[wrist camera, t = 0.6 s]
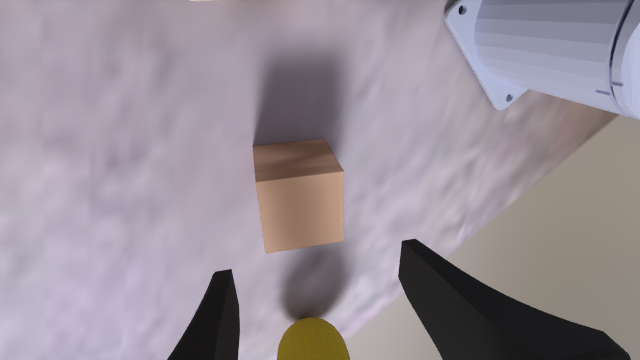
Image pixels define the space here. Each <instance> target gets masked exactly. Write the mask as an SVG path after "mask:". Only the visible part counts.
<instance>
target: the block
mask: <svg viewBox="0 0 640 360" xmlns="http://www.w3.org/2000/svg"><path fill="white" fill-rule="evenodd" d="M253 155H254V167H255V179H256V188H257V195H258V202H259V210H260V217H261V224H262V232H263V239H264V246H265V254H266V253H273V252H279V251H285V250H291V249H298V248H304V247H310V246H317V245H323V244H329V243H335V242H342V241H344V170H343V169H342V167H341V166H340V164H339V162H338V161H337V159H336V158H335V156H334V155H333V153H332V151H331V150H330V148H329V147H328V145H327V143H326V142H325V140H324V139H314V140H305V141H295V142H285V143H276V144H266V145H256V146H253Z"/></svg>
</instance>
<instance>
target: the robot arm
mask: <svg viewBox="0 0 640 360" xmlns="http://www.w3.org/2000/svg"><path fill="white" fill-rule="evenodd" d="M461 5H462V7H463V11H462V13H461V14H459V11H458V10H459V7H460V6H461ZM444 20H445V23H446V24H447V26H448V28H449V30H450V31H451V33H452V35H453V37H454V38H455V40H456V42H457V44H458V45H459V47H460V49H461V51H462V52H463V54H464V56H465V58H466V59H467V61H468V63H469V65H470V66H471V68H472V70H473V72H474V73H475V75H476V77H477V79H478V80H479V82H480V84H481V86H482V87H483V89H484V91H485V92H486V94H487V96H488V98H489V99H490V101H491V103H492V105H493V106H494V108H495V109H498V110H504V109H505V108H507V107H508V106H509V105H510V104H511V103H512V102H514V101H515V100H516V99H517V98H518V97H520V96H521V95H522V94H523V93H524V92H525V91H527V90H528V89H531V90H534V91H538V92H542V93H545V94H549V95H553V96H556V97H560V98H563V99H567V100H571V101H574V102H578V103H581V104H585V105H589V106H592V107H596V108H600V109H603V110H607V111H610V112H614V113H618V114H621V115H625V116H628V117H634V118H636V119H638V120H640V0H457V1H456V2H455V3H454V4H453V5H452V6H451V7H450V8H449V9H448V10H447V11H446V13H445V18H444ZM508 95H509V97H508V99H507V100H506V97H507V96H508ZM398 277H399V280H400V282H401V284H402V287H403V289H404V291H405V294H406V296H407V298H408V300H409V301H410V303H411V305H412V307H413V308H414V310H415V312H416V313H417V315H418V317H419V318H420V320H421V322H422V324H423V325H424V327H425V329H426V330H427V332H428V333H429V335H430V337H431V339H432V340H433V342H434V344H435V345H436V347H437V349H438V351H439V353H440V355H441V357H442V359H443V360H631V359H630V356H629V354H628V353H627V352H626V351H624V349H622V348H621V347H620V346H619V345H618V344H617V343H615V342H614V341H613V340H612V339H611V338H610V337H609V336H608V335H607V334H605V333H604V332H603V331H600V330H596V329H593V328H590V327H587V326H583V325H580V324H577V323H574V322H570V321H567V320H565V319H562V318H559V317H556V316H554V315H551V314H548V313H545V312H543V311H540V310H538V309H536V308H533V307H531V306H529V305H526V304H524V303H522V302H519V301H517V300H515V299H513V298H511V297H509V296H506V295H504V294H503V293H500V292H499V291H497V290H495V289H493V288H491V287H489V286H487V285H485V284H484V283H482V282H480V281H478V280H477V279H475V278H473V277H472V276H470V275H468V274H467V273H465V272H463V271H462V270H460V269H459V268H457V267H456V266H454V265H453V264H451V263H450V262H448V261H447V260H445V259H444V258H442V257H441V256H440V255H438V254H437V253H435V252H434V251H432V250H431V249H430V248H428V247H427V246H425V245H424V244H422V243H421V242H419V241H418V240H416V239H411V240H405V241H402V247H401V256H400V265H399V274H398ZM239 336H240V319H239V303H238V299H237V294H236V289H235V284H234V279H233V275H232V270H231V269H229V270H223V271H217V272H215V273H214V274H213V276H212V279H211V281H210V284H209V286H208V288H207V291H206V293H205V295H204V297H203V299H202V301H201V303H200V305H199V307H198V309H197V311H196V313H195V315H194V317H193V319H192V320H191V322H190V324H189V326H188V327H187V329H186V331H185V332H184V334H183V336H182V338H181V339H180V341H179V342H178V344H177V346H176V347H175V349H174V350H173V352H172V353H171V355H170V356H169V357H168V359H167V360H238V349H239Z"/></svg>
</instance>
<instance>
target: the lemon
mask: <svg viewBox="0 0 640 360" xmlns="http://www.w3.org/2000/svg"><path fill="white" fill-rule="evenodd" d="M277 360H350V357H349V353H348V350H347V348H346V344H345V342H344V340H343V338H342V336H341V335H340V333H339V332H338V331H337V330H336V328H335V327H334V326H333V325H332V324H330V323H329V322H327V321H325V320H323V319H319V318H313V317H310V318H304V319H301V320H299V321H297V322H295V323H294V324H292V325H291V326H290V327H289V328H288V329H287V331H286V332H285V333H284V335H283V337H282V339H281V341H280V344H279V347H278V354H277Z"/></svg>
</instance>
